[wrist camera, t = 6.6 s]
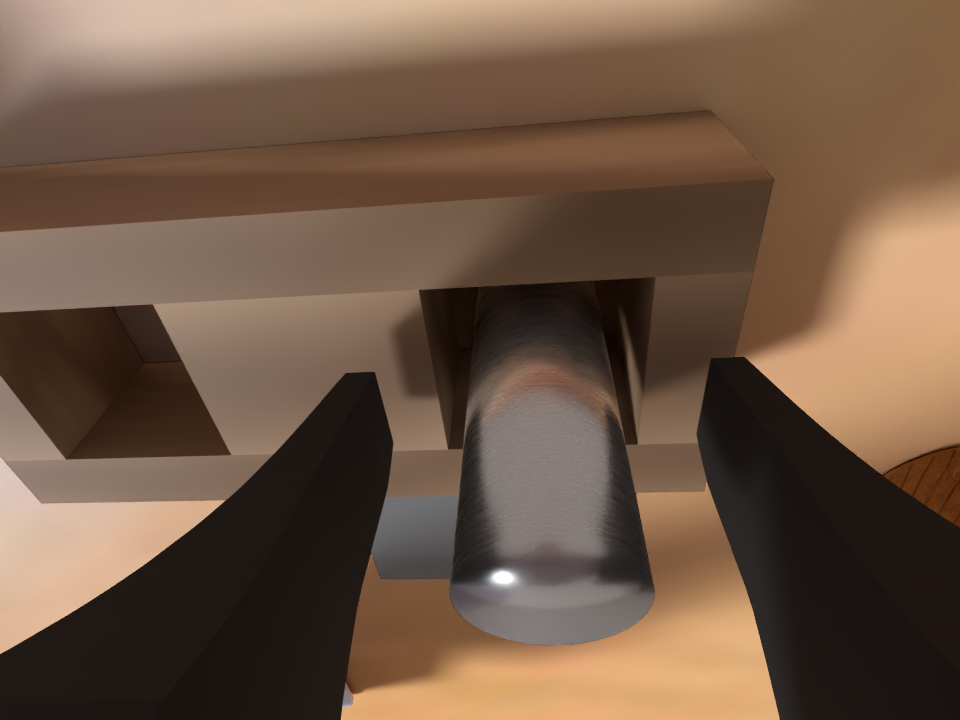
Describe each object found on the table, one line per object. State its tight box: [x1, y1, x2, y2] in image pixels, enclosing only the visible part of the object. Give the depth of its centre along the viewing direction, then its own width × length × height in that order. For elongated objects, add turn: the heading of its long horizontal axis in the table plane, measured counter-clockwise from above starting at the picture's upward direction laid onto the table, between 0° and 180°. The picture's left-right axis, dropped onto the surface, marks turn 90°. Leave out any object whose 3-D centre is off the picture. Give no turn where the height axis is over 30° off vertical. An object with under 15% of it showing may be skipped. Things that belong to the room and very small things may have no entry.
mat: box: [371, 496, 458, 579], centre depth 21 cm, size 9×10×1 cm
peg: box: [450, 280, 655, 645], centre depth 12 cm, size 3×3×9 cm
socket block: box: [0, 111, 774, 503], centre depth 14 cm, size 8×18×4 cm, turn 95°
